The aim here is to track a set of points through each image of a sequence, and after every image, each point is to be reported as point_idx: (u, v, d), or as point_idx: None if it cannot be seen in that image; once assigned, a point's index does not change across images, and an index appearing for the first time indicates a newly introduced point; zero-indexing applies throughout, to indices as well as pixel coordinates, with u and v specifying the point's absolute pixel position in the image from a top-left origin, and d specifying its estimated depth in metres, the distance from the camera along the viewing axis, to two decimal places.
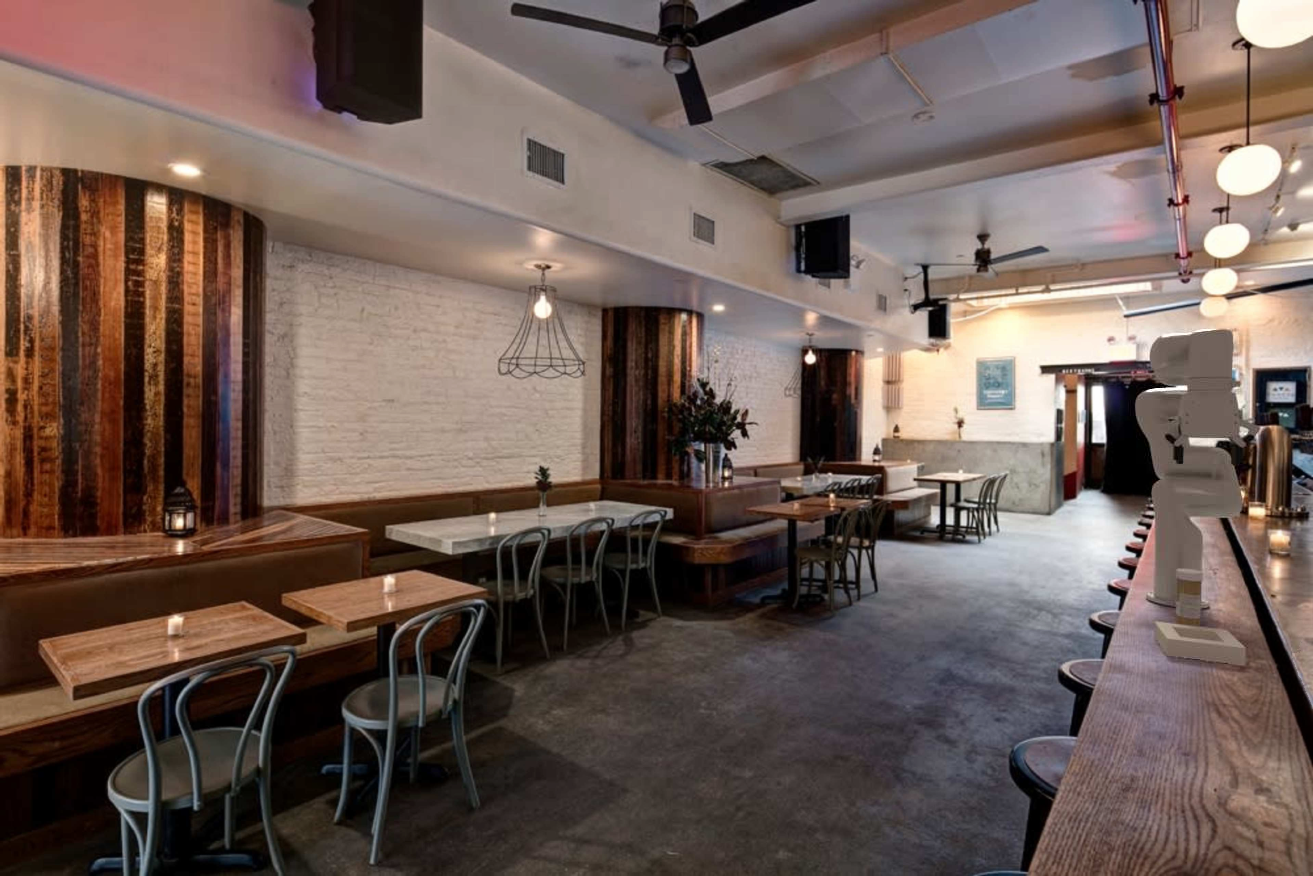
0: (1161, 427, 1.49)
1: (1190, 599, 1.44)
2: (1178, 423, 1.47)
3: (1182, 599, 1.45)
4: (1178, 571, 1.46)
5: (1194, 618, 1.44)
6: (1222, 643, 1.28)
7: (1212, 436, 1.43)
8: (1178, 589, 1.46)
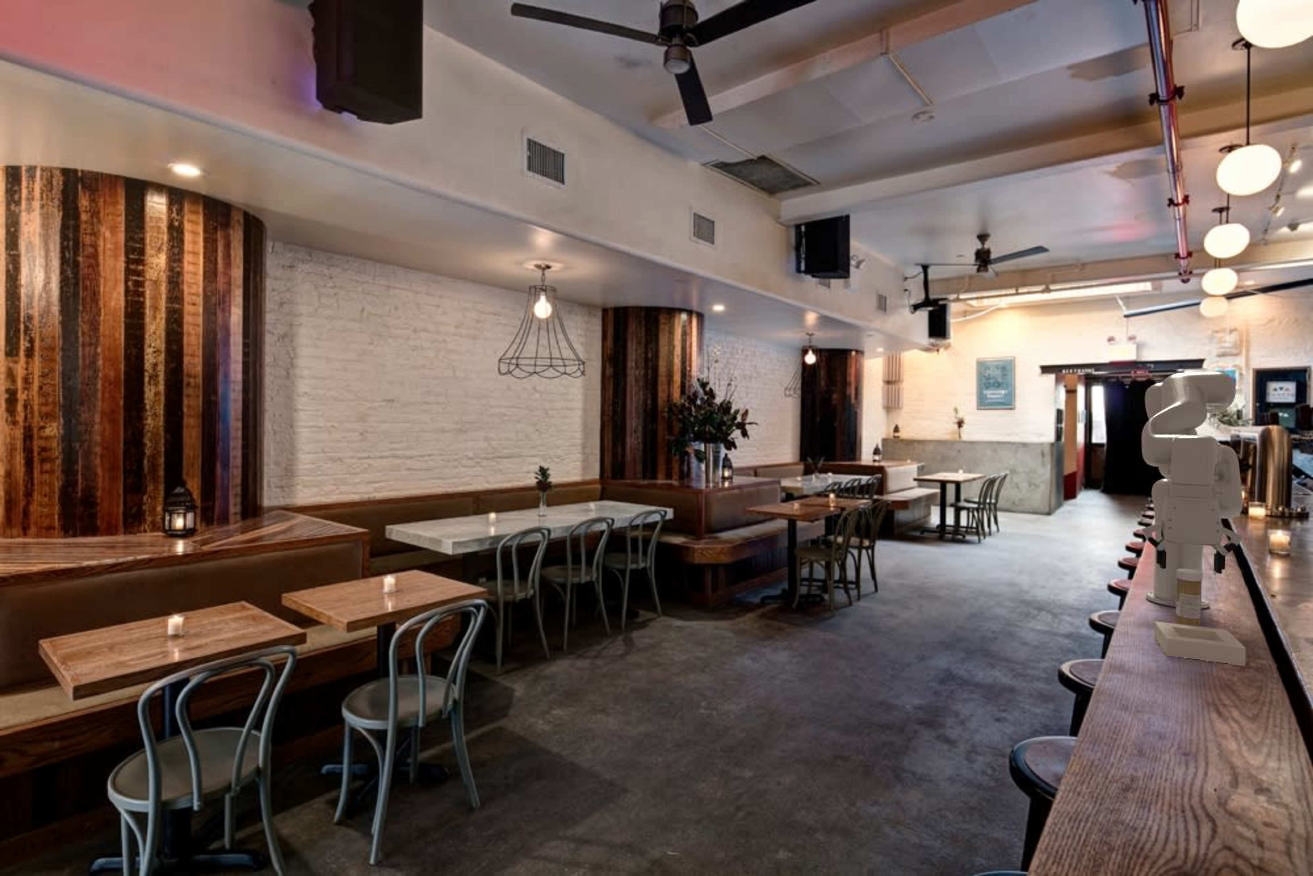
0: (1144, 530, 1.49)
1: (1190, 599, 1.44)
2: (1161, 527, 1.47)
3: (1182, 599, 1.45)
4: (1178, 571, 1.46)
5: (1194, 618, 1.44)
6: (1222, 643, 1.28)
7: (1194, 543, 1.43)
8: (1178, 589, 1.46)
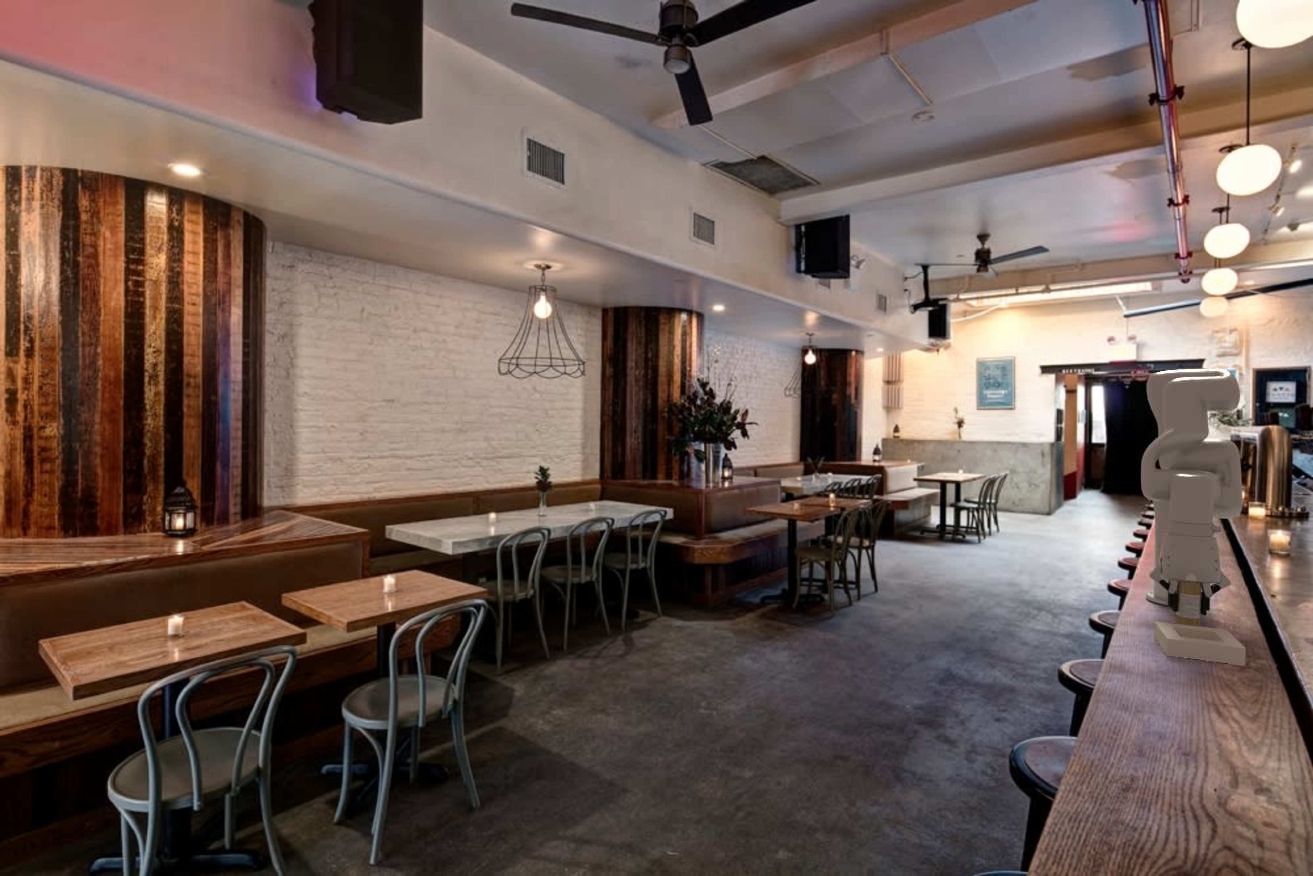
0: (1151, 576, 1.49)
1: (1190, 599, 1.44)
2: None
3: (1182, 599, 1.45)
4: None
5: (1194, 618, 1.44)
6: (1222, 643, 1.28)
7: None
8: (1178, 589, 1.46)
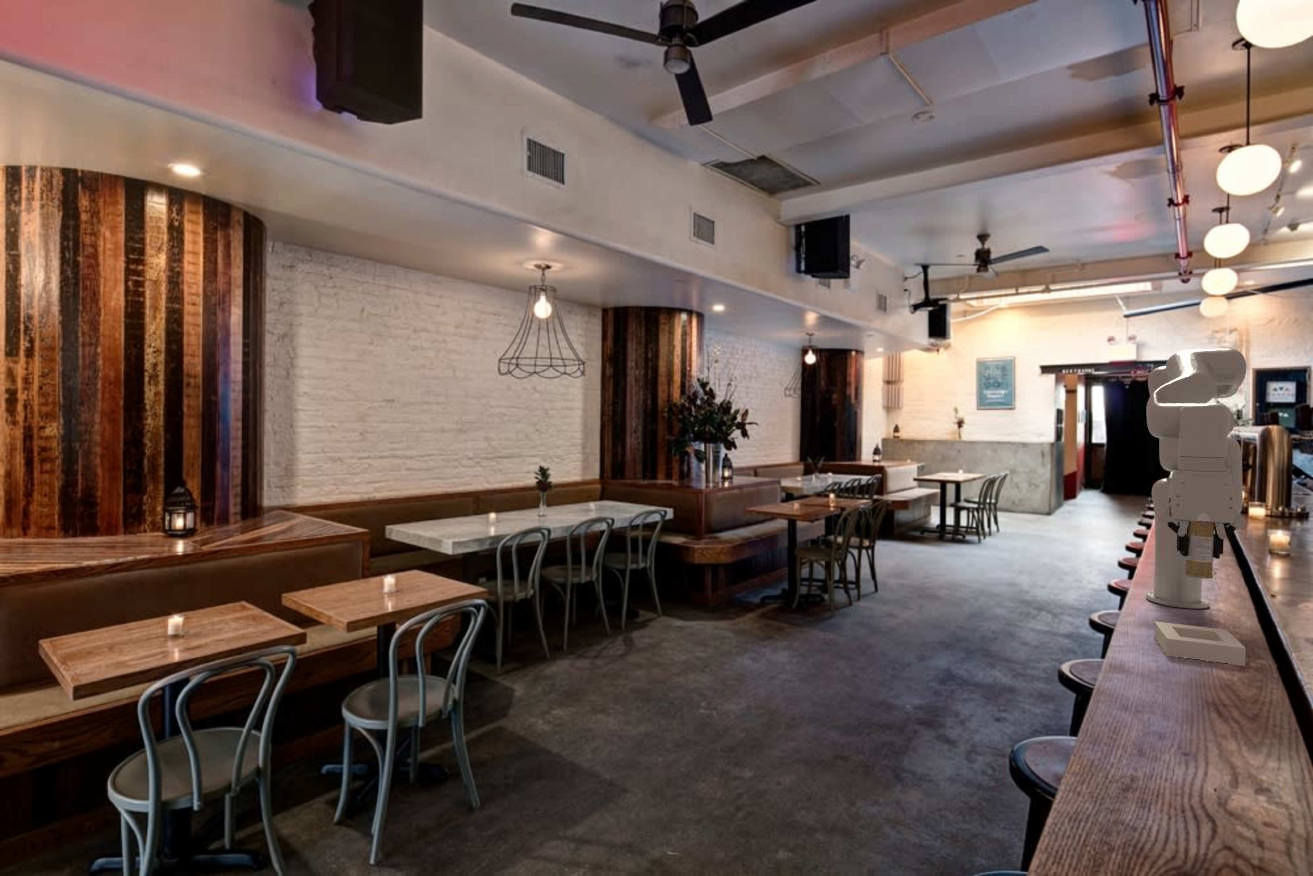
0: (1159, 518, 1.36)
1: (1201, 541, 1.31)
2: None
3: (1193, 541, 1.32)
4: None
5: (1207, 562, 1.31)
6: (1222, 643, 1.28)
7: None
8: (1188, 531, 1.33)
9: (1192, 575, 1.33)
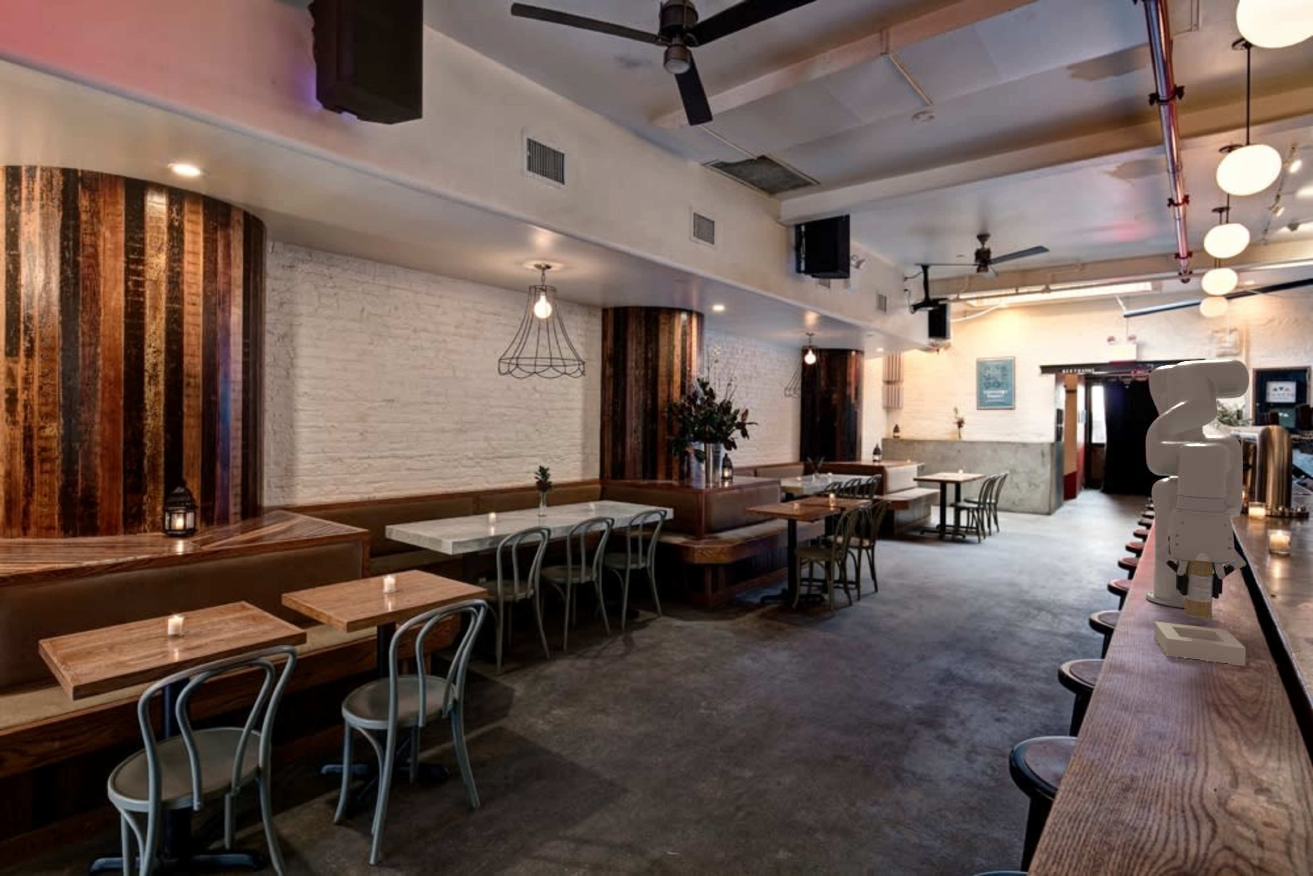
0: (1158, 556, 1.36)
1: (1200, 580, 1.31)
2: None
3: (1192, 581, 1.32)
4: None
5: (1206, 602, 1.31)
6: (1222, 643, 1.28)
7: None
8: (1187, 570, 1.33)
9: (1191, 614, 1.33)
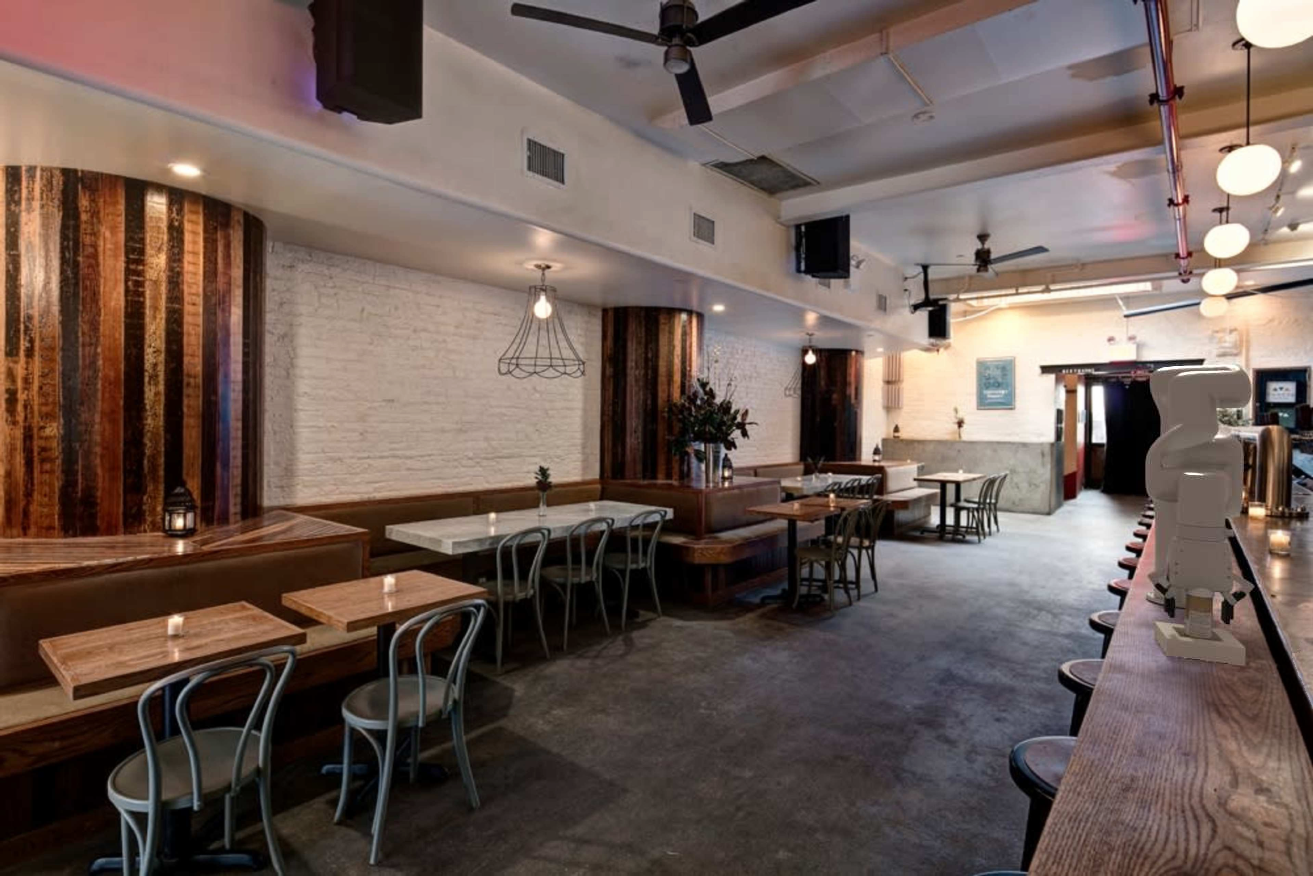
0: (1150, 576, 1.37)
1: (1200, 617, 1.32)
2: (1167, 572, 1.35)
3: (1192, 616, 1.33)
4: None
5: (1205, 637, 1.32)
6: (1222, 643, 1.28)
7: None
8: (1187, 606, 1.34)
9: None
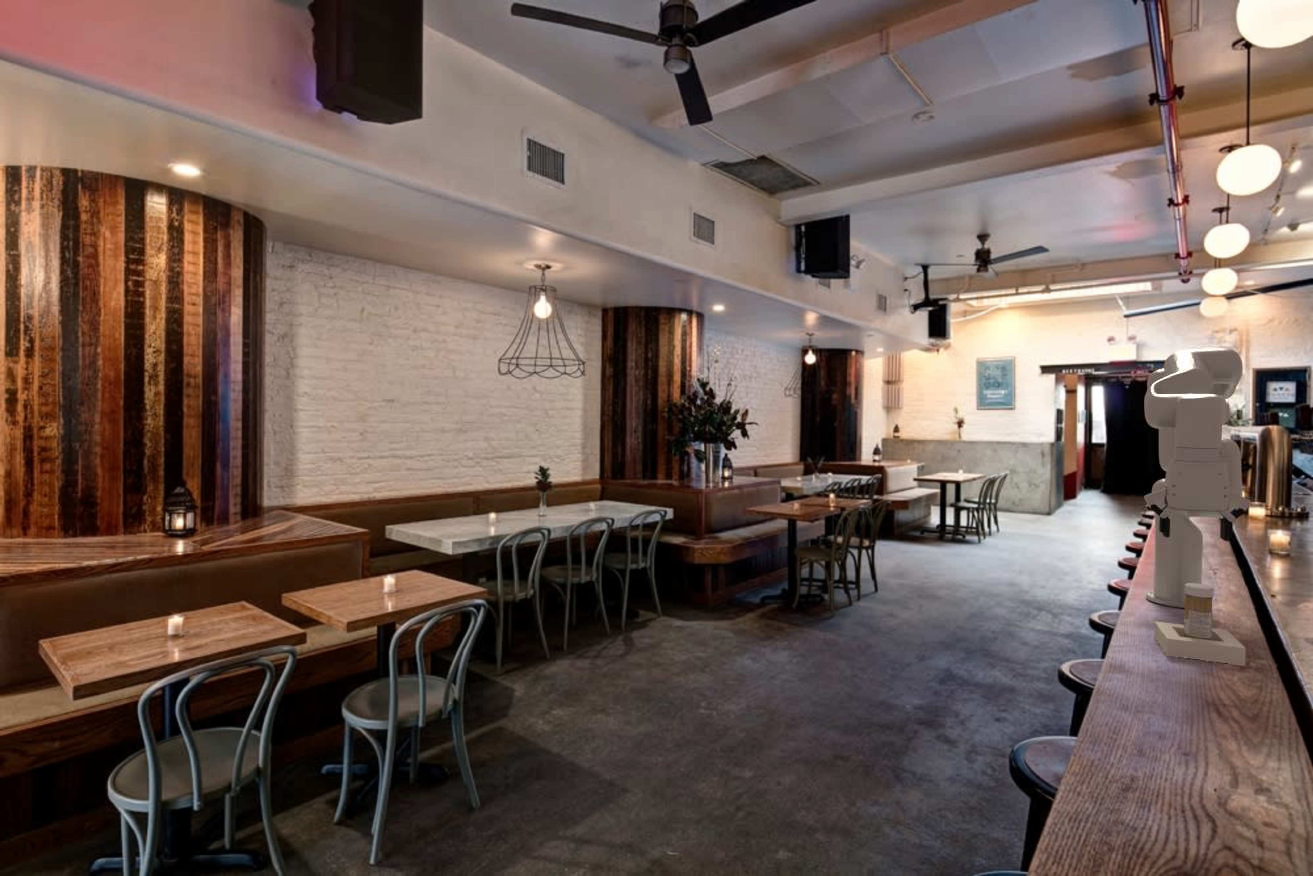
0: (1146, 497, 1.40)
1: (1200, 616, 1.32)
2: (1164, 494, 1.39)
3: (1191, 616, 1.33)
4: (1187, 586, 1.34)
5: (1205, 637, 1.32)
6: (1222, 643, 1.28)
7: (1200, 509, 1.35)
8: (1187, 606, 1.34)
9: None
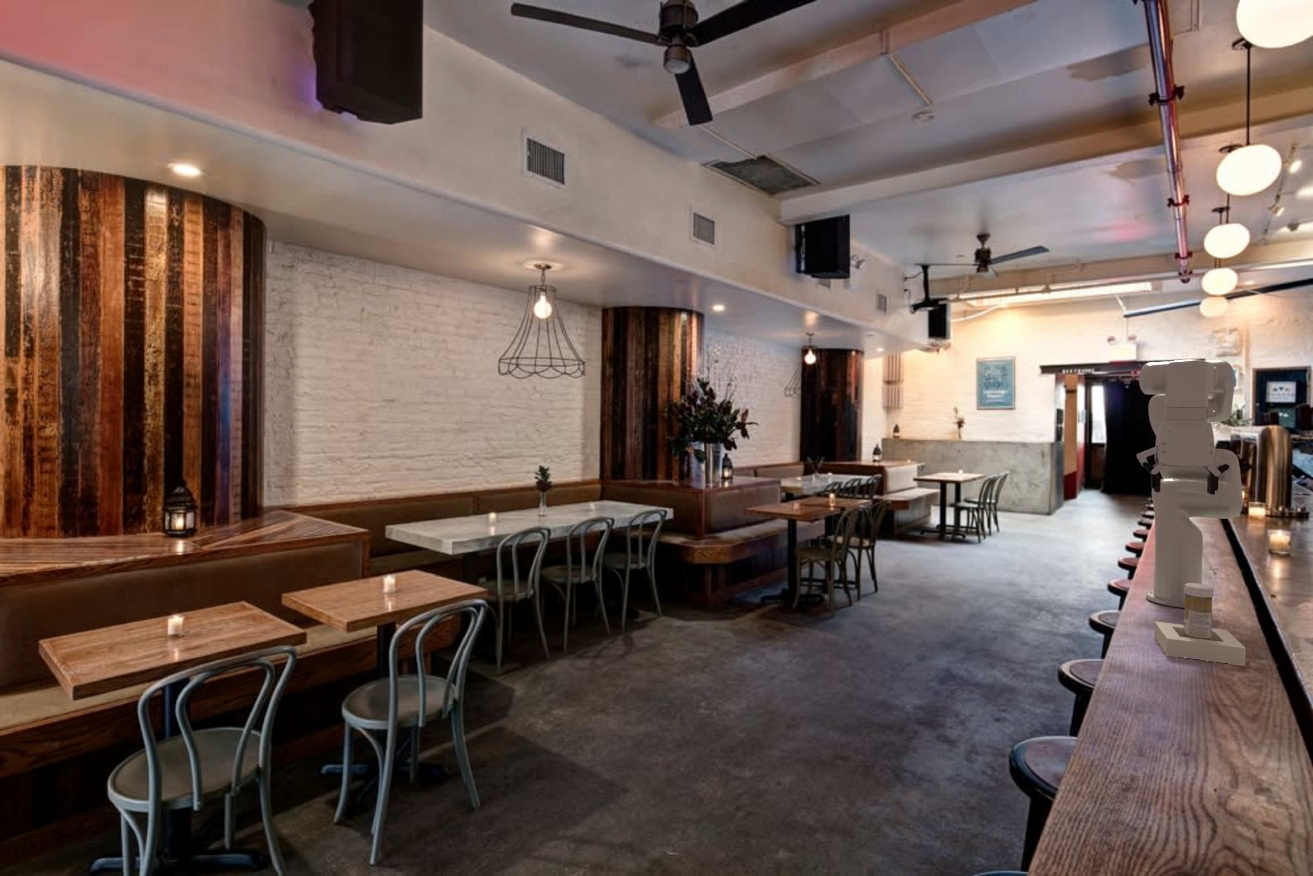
0: (1139, 455, 1.51)
1: (1200, 616, 1.32)
2: (1155, 451, 1.49)
3: (1191, 616, 1.33)
4: (1187, 586, 1.34)
5: (1205, 637, 1.32)
6: (1222, 643, 1.28)
7: (1188, 465, 1.45)
8: (1187, 606, 1.34)
9: None
